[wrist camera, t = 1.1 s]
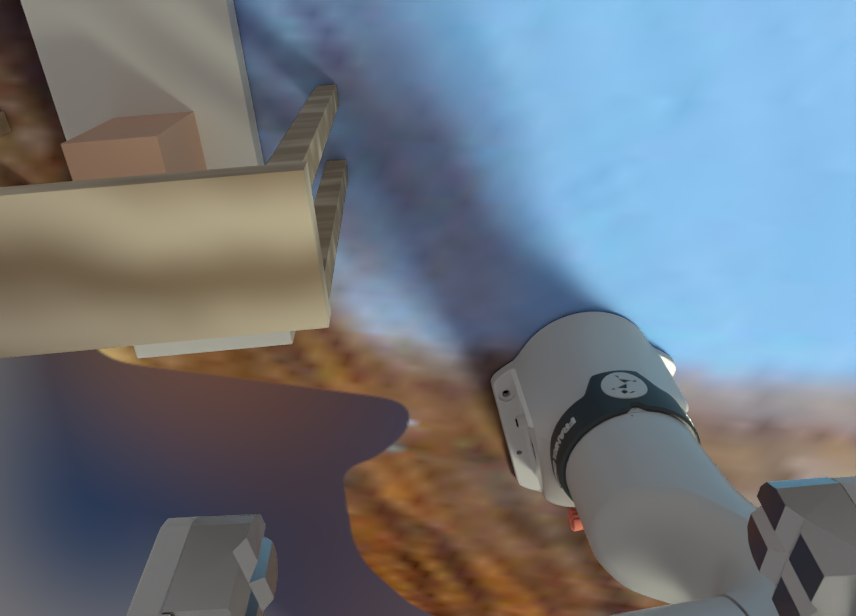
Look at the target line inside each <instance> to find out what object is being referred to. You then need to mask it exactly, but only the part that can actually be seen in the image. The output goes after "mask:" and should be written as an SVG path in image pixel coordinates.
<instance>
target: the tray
mask: <svg viewBox="0 0 856 616" xmlns="http://www.w3.org/2000/svg"><path fill="white" fill-rule="evenodd" d="M21 3H22V7H23V10H24V13H25V16H26V19H27V22H28V25H29V28H30V31H31V34H32V37H33V40H34V43H35V46H36V49H37V52H38V55H39V58H40V61H41V65H42V68H43V71H44V74H45V77H46V80H47V83H48V86H49V89H50V92H51V95H52V98H53V101H54V104H55V107H56V110H57V113H58V116H59V119H60V122H61V126H62V129H63V132H64V135H65V138H66V141H68V140H70V139H72V138H74V137H76V136H78V135H80V134H82V133H84V132H86V131H88V130H90V129H92V128H94V127H96V126H98V125H100V124H102V123H104V122H106V121H108V120H110V119H112V118H117V117H129V116H141V115H153V114H166V113H178V112H190V111H194V115H195V119H196V123H197V128H198V132H199V136H200V141H201V145H202V149H203V154H204V158H205V162H206V167H207V170H210V169H222V168H234V167H246V166H257V165H264V161H263V156H262V150H261V145H260V140H259V134H258V129H257V124H256V118H255V113H254V108H253V103H252V97H251V92H250V87H249V81H248V76H247V71H246V65H245V60H244V55H243V49H242V44H241V39H240V33H239V28H238V23H237V18H236V12H235V7H234V2H233V0H21ZM294 334H295V331H286V332H275V333H264V334H253V335H243V336H232V337H221V338H210V339H200V340H189V341H178V342H167V343H157V344H146V345H135V346H134V348H135V351H136V354H137V357H138V358H147V357H157V356H168V355H179V354H189V353H200V352H211V351H221V350H232V349H243V348H253V347H264V346H275V345H285V344H292V343H293V339H294Z"/></svg>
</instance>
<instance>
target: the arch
mask: <svg viewBox="0 0 856 616" xmlns="http://www.w3.org/2000/svg"><path fill="white" fill-rule="evenodd" d="M338 106H339V102H338V94H337V87H336V84H333V85H320V86H316V87H315V88H314V90H313V92H312V93H311V95H310V96H309V98H308V99H307V101H306V103H305V104H304V106H303V107H302V109H301V111H300V112H299V114H298V115H297V117H296V118H295V120H294V122H293V123H292V125H291V126H290V128H289V130H288V131H287V133H286V134H285V136H284V138H283V139H282V141H281V142H280V144H279V145H278V147H277V149H276V150H275V152H274V153H273V155H272V157H271V158H270V160H269V161H268V163H267V165H257V166H246V167H234V168H222V169H210V170H198V171H186V172H175V173H163V174H151V175H139V176H127V177H115V178H104V179H92V180H80V181H68V182H56V183H44V184H32V185H21V186H9V187H0V358H6V357H16V356H27V355H38V354H49V353H60V352H70V351H80V350H91V349H103V348H114V347H124V346H135V345H146V344H157V343H167V342H178V341H189V340H200V339H210V338H221V337H232V336H243V335H253V334H264V333H275V332H286V331H296V330H307V329H318V328H329V323H330V316H331V310H330V304H329V297H330V290H331V284H332V278H333V271H334V265H335V259H336V252H337V246H338V239H339V233H340V227H341V220H342V214H343V208H344V201H345V195H346V189H347V182H348V173H347V165H346V159H343V160H331V161H327V162H326V165H325V168H324V172H323V175H322V178H321V182H320V185H319V189H318V192H317V195H316V199H315V202H313V195H312V189H311V187H312V184H313V181H314V178H315V175H316V172H317V169H318V166H319V163H320V160H321V157H322V154H323V151H324V148H325V145H326V142H327V139H328V136H329V133H330V130H331V127H332V124H333V121H334V118H335V115H336V112H337V109H338ZM10 132H11V129H10V126H9V124H8V121H7V118H6V115H5V113H4V111H0V136H2V135H5V134H7V133H10Z"/></svg>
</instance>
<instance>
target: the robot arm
mask: <svg viewBox="0 0 856 616" xmlns="http://www.w3.org/2000/svg"><path fill="white" fill-rule="evenodd" d="M675 371H676V365H675V363H674V361H673V359H672V358H671V357H670V356H669V355H668V354H666V353H664V352H662V351H660V350H658V349H656V348H654V347H653V346H652V345H651V344H650V343H649V341H648V340H647V338H646V337H645V336H644V334H643V333H642V332H641V330H640V329H639V328H638V327H637V326H635V325H634V324H633V323H631V322H630V321H628V320H627V319H625V318H623V317H620V316H618V315H614V314H611V313H606V312H581V313H576V314H572V315H568V316H565V317H563V318H560V319H558V320H556V321H554V322H552V323H550V324H548V325H547V326H545V327H544V328H542V329H541V330H540V331H538V332H537V333H536V334H535V335H534V336H533V337H532V338H531V339H530V340H529V341H528V342H527V343H526V345H525V346H524V347H523V349H522V350H521V352H520V353H519V354H518V356H517V357H516V358H515V359H514V360H513V361H512V362H510V363H508V364H507V365H505V366H504V367H502V368H501V369H500V370H498V371H497V372H496V373H495V374H494V375H493V376H492V378H491V386H492V390H493V394H494V398H495V401H496V405H497V409H498V413H499V416H500V420H501V424H502V428H503V432H504V435H505V439H506V443H507V447H508V450H509V454H510V458H511V462H512V465H513V469H514V473H515V476H516V478H517V481H518V483H519V484H520V485H521V486H523V487H526V488H529V489H532V490H536V491H541V492H542V493H543V496H544V498H545V499H546V500H548V501H549V502H551V503H554V504H556V505H560V506H567V507H572V508H569V510H568V518H569V523H570V527H571V529H572V531H579V530H582V529H584V531H585V534H586V536H587V539H588V541H589V544H590V547H591V549H592V552H593V554H594V556H595V557H596V559H597V560H598V562H599V563H600V564H601V565H602V566H603V567H604V568H605V570H606V571H607V572H608V573H609V574H610V575H611V576H612V577H613V578H615V579H616V580H617V581H618V582H620V583H621V584H622V585H624V586H625V587H627V588H629V589H630V590H632V591H635V592H637V593H639V594H642V595H645V596H648V597H651V598H654V599H657V600H661V601H664V602H667V603H670V604H671V605H665V606H659V607H654V608H648V609H642V610H637V611H631V612H625V613H620V614H614V615H611V616H856V476H852V477H840V478H828V477H825V478H812V479H799V480H786V481H774V482H766V483H764V484H763V485H762V486H761V487H760V489H759V492H758V495H757V497H758V499H759V501H760V503H761V505H762V506H760V507H759V508H757V507H756V506H754V505H753V504H752V503H751V502H749V501H748V500H747V499H746V498H745V497H744V496H743V495H741V494H740V493H739V492H738V491H737V490H736V489H735V488H734V486H733V485H732V484H731V483H730V482H729V481H728V479H727V478H726V477H725V476H724V475H723V473H722V472H721V471H720V470H719V468H718V467H717V466H716V465H715V463H714V462H713V461H712V460H711V458H710V457H709V456H708V454H707V453H706V452H705V450H704V449H703V448H702V446H701V444H700V439H699V436H698V433H697V431H696V430H695V428H694V425H693V423H692V421H691V419H690V418H689V416H688V415H687V413H686V412H687V411H688V404H687V401H686V400H685V398H684V396H683V394H682V392H681V391H680V389H679V387H678V385H677V384H676V382H675V380H674V379H673V377H674V374H675ZM505 390H508V392H507V393H503V391H505ZM265 527H266V525H265V523H264V521H263V519H262V517H261V515H260V514H252V515H231V516H209V517H186V518H169V519H167V521H166V522H165V523H164V524H163V526H162V527H161V528H160V530H159V533H158V535H157V538H156V540H155V543H154V546H153V548H152V551H151V553H150V556H149V558H148V561H147V564H146V566H145V569H144V571H143V574H142V577H141V579H140V581H139V584H138V587H137V589H136V592H135V595H134V598H133V600H132V602H131V605H130V607H129V610H128V612H127V615H126V616H264V615H263V610H264V609H265V608H266V607H267V606H268V605H269V603H270V602H271V601H272V600H273V599H274V595H275V590H276V585H277V570H278V561H277V556H276V550H275V547H274V545H273V542H272V541H270V540H269V539H267V538H265V537H264V531H265Z"/></svg>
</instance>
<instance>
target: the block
mask: <svg viewBox="0 0 856 616" xmlns="http://www.w3.org/2000/svg"><path fill="white" fill-rule="evenodd" d="M61 147H62V150H63V153H64V156H65V159H66V162H67V165H68V168H69V171H70V174H71V177H72V180H73V181H80V180H92V179H104V178H115V177H127V176H139V175H151V174H163V173H175V172H186V171H198V170H207V167H206V162H205V158H204V154H203V149H202V145H201V141H200V136H199V132H198V128H197V123H196V119H195V115H194V111H190V112H178V113H166V114H153V115H141V116H129V117H117V118H112V119H110V120H108V121H106V122H104V123H102V124H100V125H98V126H96V127H94V128H92V129H90V130H88V131H86V132H84V133H82V134H80V135H78V136H76V137H74V138H72V139H70V140H68V141H66V142H64V143H62V144H61Z"/></svg>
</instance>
